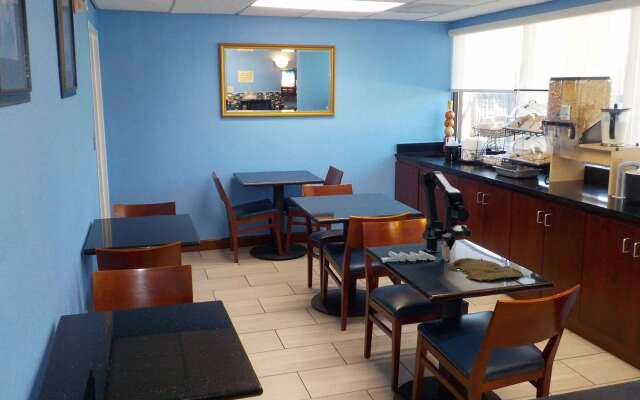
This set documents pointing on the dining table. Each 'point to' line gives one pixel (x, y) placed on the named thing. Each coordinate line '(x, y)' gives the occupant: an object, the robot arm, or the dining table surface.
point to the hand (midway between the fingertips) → (449, 250)
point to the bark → (484, 269)
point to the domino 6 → (446, 252)
